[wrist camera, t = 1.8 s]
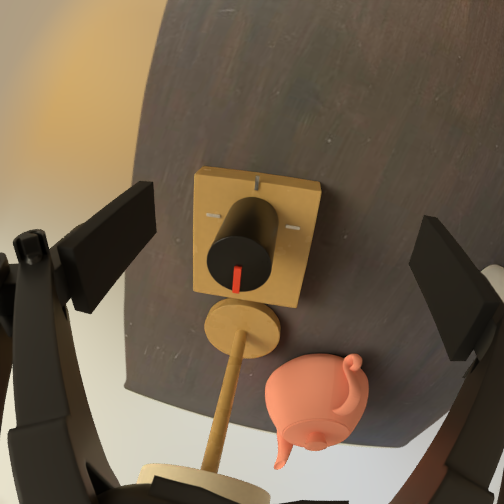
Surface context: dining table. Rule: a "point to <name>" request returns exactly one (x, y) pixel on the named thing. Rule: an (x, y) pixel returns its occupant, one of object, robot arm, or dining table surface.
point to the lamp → (227, 395)
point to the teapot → (315, 401)
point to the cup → (495, 278)
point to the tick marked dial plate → (288, 235)
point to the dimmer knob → (244, 246)
